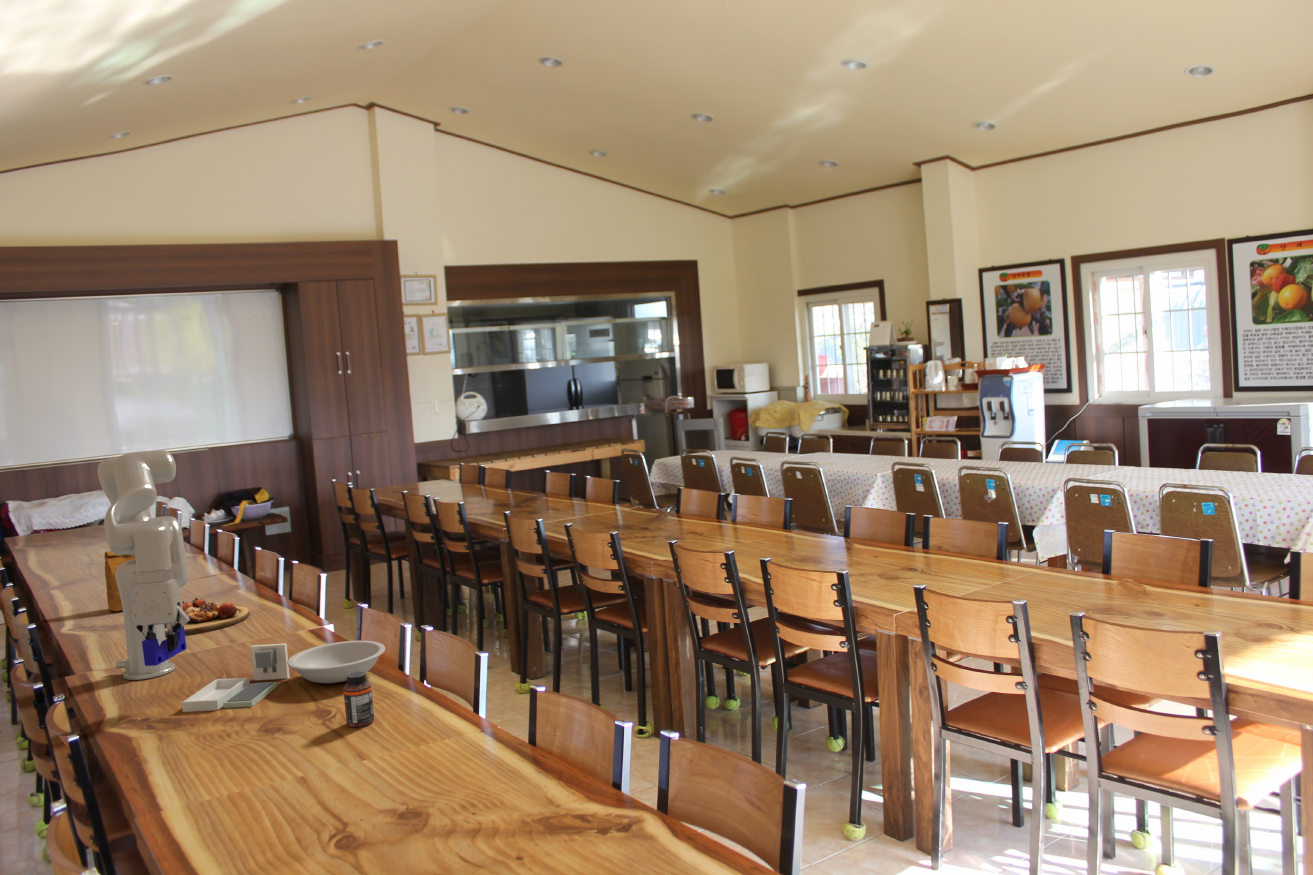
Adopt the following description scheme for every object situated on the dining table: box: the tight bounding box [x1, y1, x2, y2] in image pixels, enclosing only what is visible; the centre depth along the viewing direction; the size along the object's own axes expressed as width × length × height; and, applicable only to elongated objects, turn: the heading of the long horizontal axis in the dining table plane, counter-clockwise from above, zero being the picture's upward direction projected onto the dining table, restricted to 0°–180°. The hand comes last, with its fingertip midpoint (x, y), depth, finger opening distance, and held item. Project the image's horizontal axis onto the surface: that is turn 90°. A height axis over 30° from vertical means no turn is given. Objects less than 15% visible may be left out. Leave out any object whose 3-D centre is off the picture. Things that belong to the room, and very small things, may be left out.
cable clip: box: [142, 625, 187, 666], centre depth 230 cm, size 12×4×6 cm, turn 174°
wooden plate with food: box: [164, 597, 251, 637], centre depth 315 cm, size 32×32×8 cm
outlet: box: [250, 643, 291, 681], centre depth 247 cm, size 9×4×9 cm, turn 88°
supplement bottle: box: [343, 671, 375, 728], centre depth 211 cm, size 6×6×11 cm
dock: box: [181, 677, 251, 713], centre depth 235 cm, size 9×17×2 cm, turn 178°
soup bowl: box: [287, 640, 386, 684], centre depth 245 cm, size 24×24×7 cm
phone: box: [222, 681, 278, 709], centre depth 235 cm, size 7×14×1 cm, turn 178°
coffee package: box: [103, 550, 135, 612], centre depth 343 cm, size 10×12×22 cm
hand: (162, 649), depth 229 cm, fingers closed on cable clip, 4 cm apart
